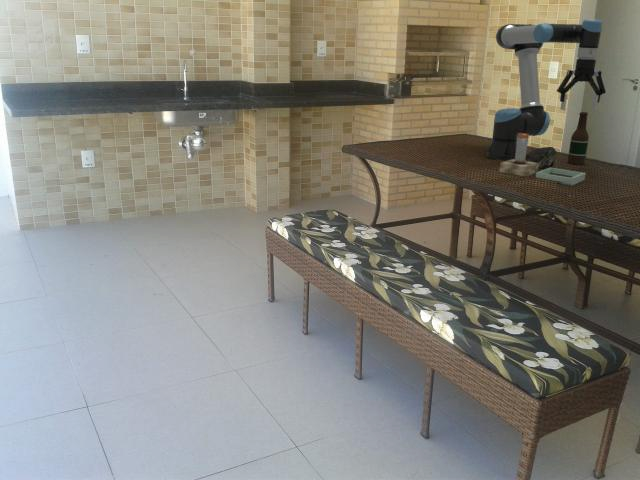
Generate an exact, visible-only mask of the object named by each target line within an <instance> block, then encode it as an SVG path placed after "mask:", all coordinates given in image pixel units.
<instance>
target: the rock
mask: <svg viewBox="0 0 640 480" xmlns="http://www.w3.org/2000/svg"><path fill="white" fill-rule="evenodd" d="M556 156H557V150H556V149H555V148H554V147H553V146H544V147H540V148H534V149H532V150H531V151H530V152H529V153H528V158H529V160H530V161H529V162H535V163H539V166H538V169H543V170H545V169H548V168H554V166H555V160H556Z"/></svg>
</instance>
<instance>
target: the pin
mask: <svg viewBox="0 0 640 480" xmlns="http://www.w3.org/2000/svg"><path fill="white" fill-rule="evenodd" d="M529 137H530V136H529V134H527V133H518V137H517V146H516V154H515V161H514V163H515V164H521V165H524V164H525V161H526V158H527V151H528V145H529Z"/></svg>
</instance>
